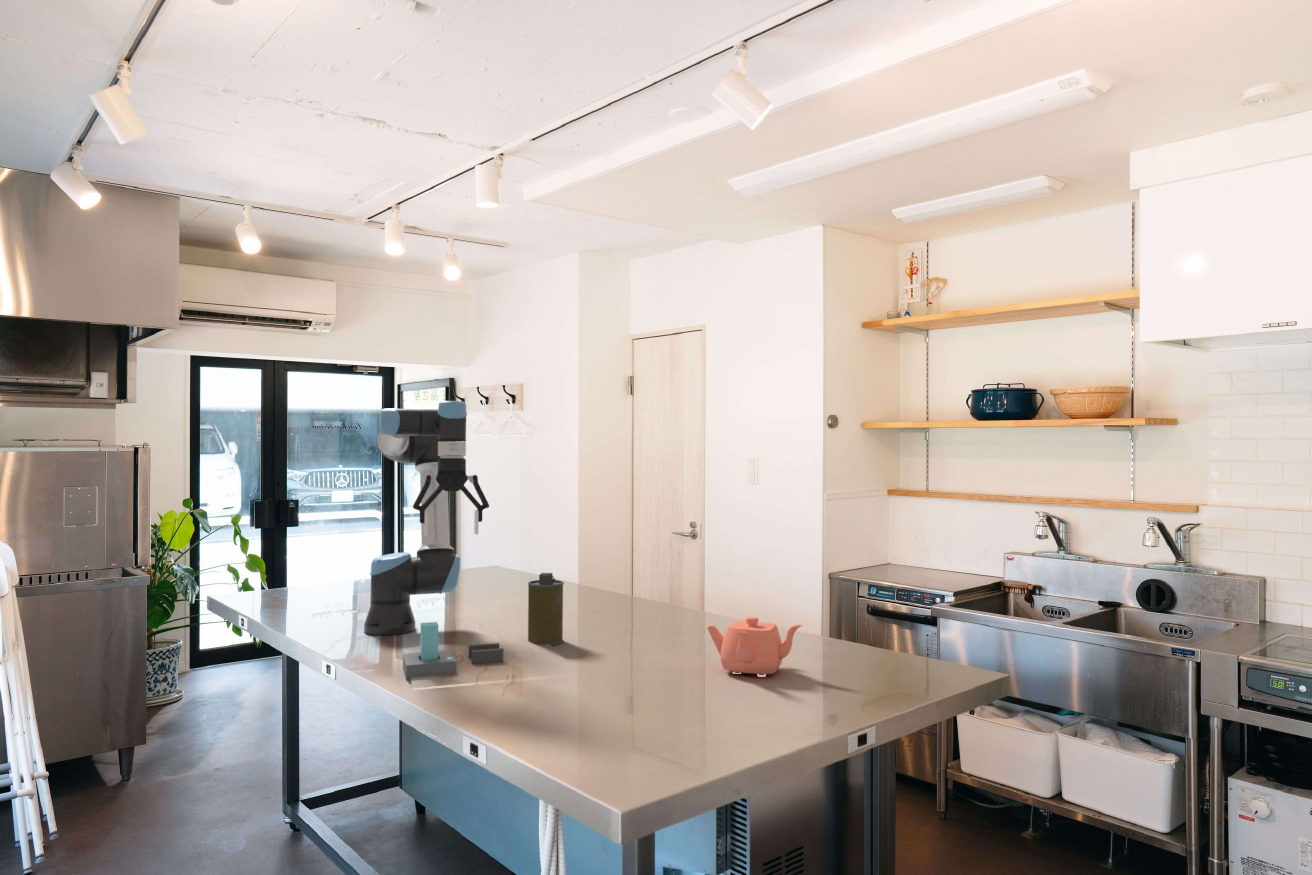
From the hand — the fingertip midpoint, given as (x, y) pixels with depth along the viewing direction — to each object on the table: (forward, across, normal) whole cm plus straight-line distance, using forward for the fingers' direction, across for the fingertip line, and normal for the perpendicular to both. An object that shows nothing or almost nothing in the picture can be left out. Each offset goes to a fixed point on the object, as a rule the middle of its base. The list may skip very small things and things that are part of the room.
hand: (451, 534), depth 229 cm
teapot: (+33, +71, -43) cm, 89 cm away
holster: (+33, +8, -11) cm, 35 cm away
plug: (+33, -7, -16) cm, 37 cm away
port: (+33, -7, -16) cm, 37 cm away
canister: (+33, +28, +6) cm, 44 cm away
